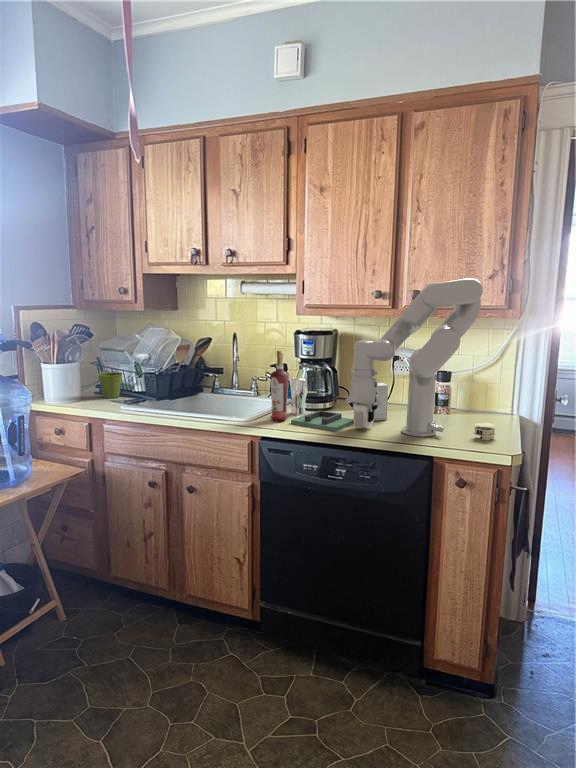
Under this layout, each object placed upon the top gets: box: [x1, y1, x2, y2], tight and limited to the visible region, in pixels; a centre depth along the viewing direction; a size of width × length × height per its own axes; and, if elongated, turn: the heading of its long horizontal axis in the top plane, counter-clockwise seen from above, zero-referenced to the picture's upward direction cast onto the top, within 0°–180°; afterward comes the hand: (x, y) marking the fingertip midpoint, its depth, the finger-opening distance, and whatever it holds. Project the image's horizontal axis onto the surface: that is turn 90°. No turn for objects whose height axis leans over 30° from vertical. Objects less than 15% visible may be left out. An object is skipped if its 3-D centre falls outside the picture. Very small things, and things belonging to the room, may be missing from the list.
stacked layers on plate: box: [473, 422, 497, 441], centre depth 190 cm, size 10×9×6 cm
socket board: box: [290, 410, 354, 432], centre depth 208 cm, size 20×16×4 cm
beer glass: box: [290, 377, 308, 416], centre depth 223 cm, size 7×7×15 cm
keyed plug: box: [353, 403, 374, 429], centre depth 199 cm, size 5×9×8 cm, turn 147°
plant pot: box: [96, 371, 124, 399], centre depth 252 cm, size 12×12×11 cm
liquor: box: [270, 350, 290, 422], centre depth 210 cm, size 7×7×28 cm
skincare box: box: [373, 382, 389, 422], centre depth 215 cm, size 8×6×15 cm
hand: (363, 420), depth 200 cm, fingers closed on keyed plug, 4 cm apart
